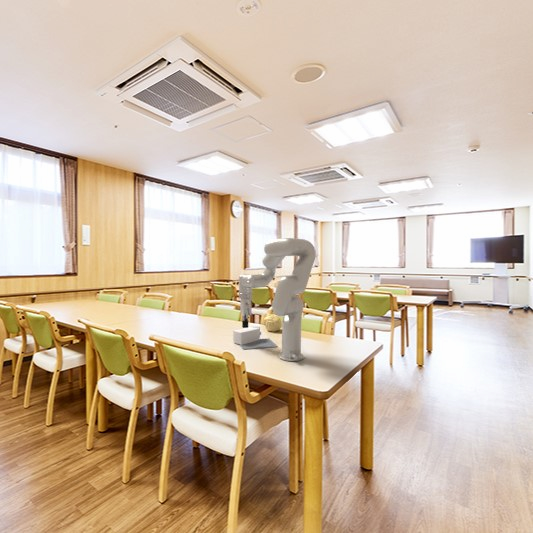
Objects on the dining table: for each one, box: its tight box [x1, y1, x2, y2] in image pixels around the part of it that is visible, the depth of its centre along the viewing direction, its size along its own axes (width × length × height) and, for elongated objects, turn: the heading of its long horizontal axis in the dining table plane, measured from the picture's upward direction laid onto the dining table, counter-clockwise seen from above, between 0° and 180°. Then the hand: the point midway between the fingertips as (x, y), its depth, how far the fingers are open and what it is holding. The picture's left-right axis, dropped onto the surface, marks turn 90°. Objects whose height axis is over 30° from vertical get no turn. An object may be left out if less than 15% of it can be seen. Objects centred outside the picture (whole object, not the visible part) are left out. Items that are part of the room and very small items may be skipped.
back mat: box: [239, 337, 278, 350], centre depth 179 cm, size 18×20×1 cm
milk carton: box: [232, 326, 262, 346], centre depth 184 cm, size 7×7×19 cm
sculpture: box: [263, 315, 282, 333], centre depth 213 cm, size 12×12×11 cm
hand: (245, 327), depth 177 cm, fingers closed
